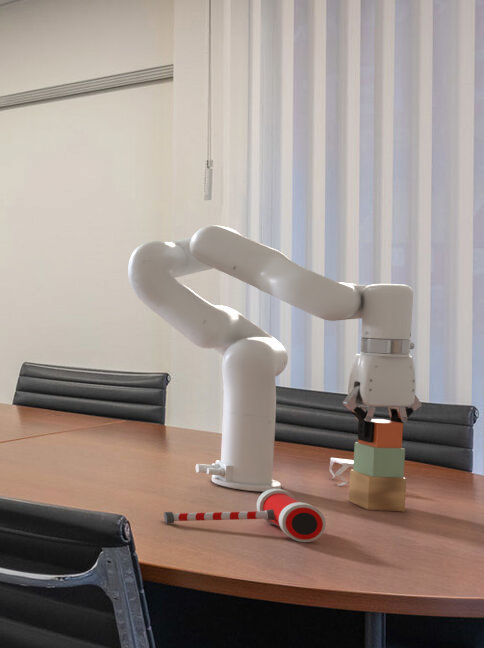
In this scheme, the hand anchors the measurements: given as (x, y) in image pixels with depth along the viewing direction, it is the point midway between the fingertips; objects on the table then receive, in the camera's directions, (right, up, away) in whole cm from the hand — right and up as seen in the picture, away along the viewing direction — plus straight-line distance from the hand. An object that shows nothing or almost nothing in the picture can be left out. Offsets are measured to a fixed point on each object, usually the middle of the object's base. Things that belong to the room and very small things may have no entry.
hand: (379, 440), depth 164 cm
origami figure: (+9, -12, +17) cm, 23 cm away
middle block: (0, -7, 0) cm, 7 cm away
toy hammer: (-36, -14, -17) cm, 42 cm away
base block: (0, -13, +1) cm, 13 cm away
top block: (0, -1, 0) cm, 1 cm away
